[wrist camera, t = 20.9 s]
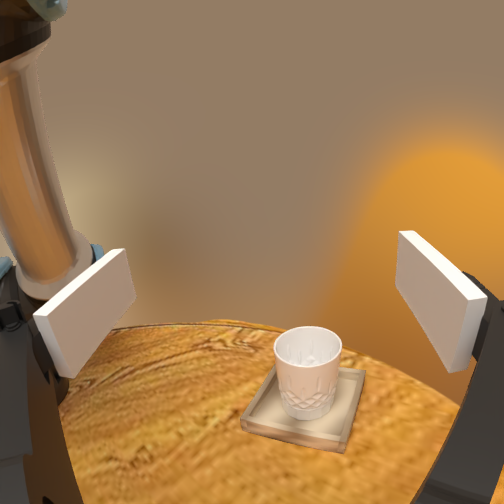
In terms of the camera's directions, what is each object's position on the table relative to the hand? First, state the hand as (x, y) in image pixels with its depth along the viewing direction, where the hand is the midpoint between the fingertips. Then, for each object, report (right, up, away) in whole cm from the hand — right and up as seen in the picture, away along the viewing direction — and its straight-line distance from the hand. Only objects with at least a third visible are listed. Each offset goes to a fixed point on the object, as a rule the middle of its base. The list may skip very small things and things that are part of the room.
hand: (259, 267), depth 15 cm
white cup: (+7, -19, +25) cm, 32 cm away
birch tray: (+7, -20, +25) cm, 33 cm away
